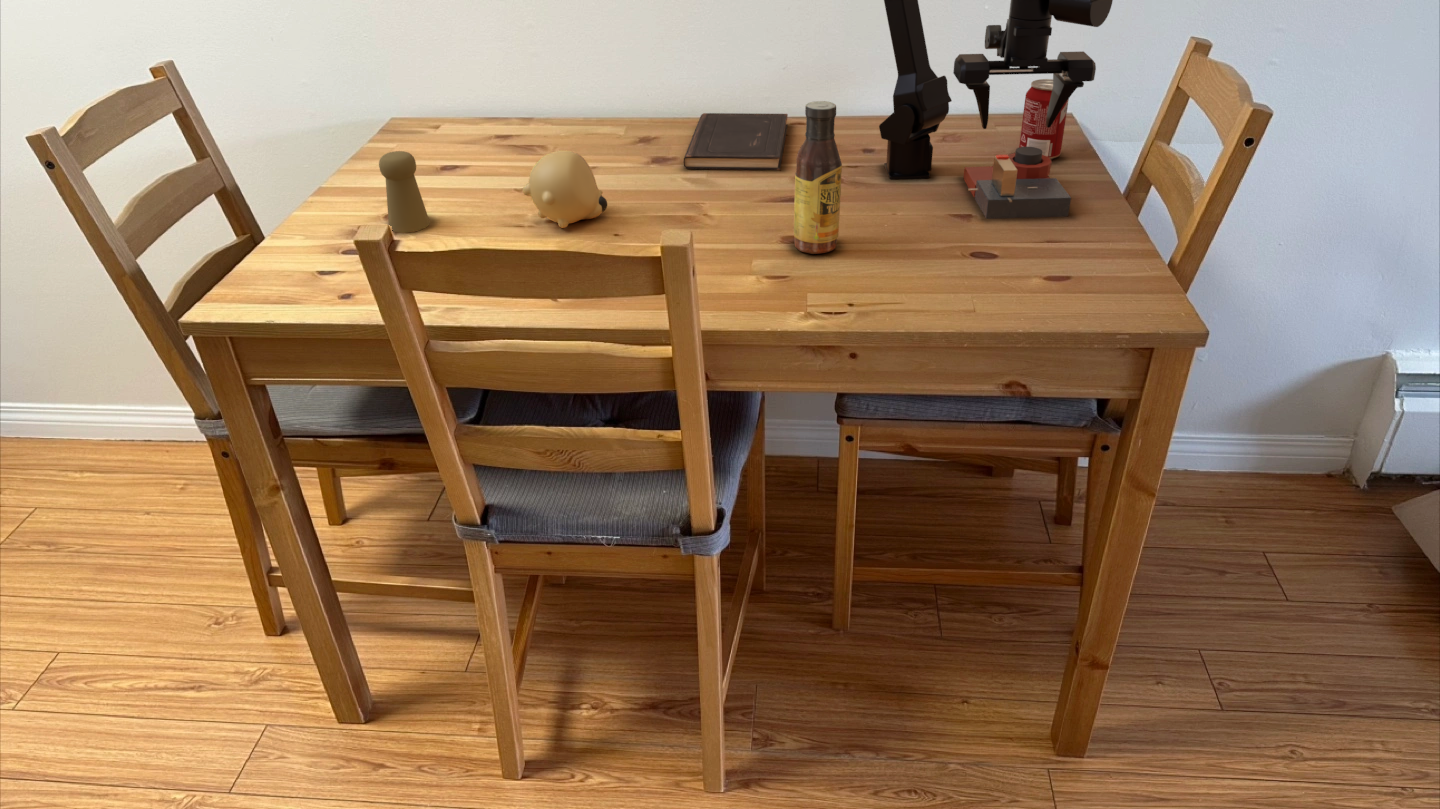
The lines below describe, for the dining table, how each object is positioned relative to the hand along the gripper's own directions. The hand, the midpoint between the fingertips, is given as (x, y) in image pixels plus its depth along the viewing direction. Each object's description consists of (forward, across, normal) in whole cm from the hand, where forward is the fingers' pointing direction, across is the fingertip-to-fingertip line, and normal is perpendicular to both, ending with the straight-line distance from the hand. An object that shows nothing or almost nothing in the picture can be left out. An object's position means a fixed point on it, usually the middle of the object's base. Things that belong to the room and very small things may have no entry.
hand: (1016, 127), depth 154 cm
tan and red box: (+8, +1, +3) cm, 9 cm away
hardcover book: (+12, +41, -28) cm, 51 cm away
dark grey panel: (+11, 0, +3) cm, 12 cm away
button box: (+11, -1, -6) cm, 13 cm away
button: (+8, -4, -7) cm, 11 cm away
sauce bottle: (+12, +30, +15) cm, 35 cm away
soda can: (+12, -10, -20) cm, 25 cm away
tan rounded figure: (+12, +66, +4) cm, 67 cm away
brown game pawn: (+12, +90, +4) cm, 91 cm away
